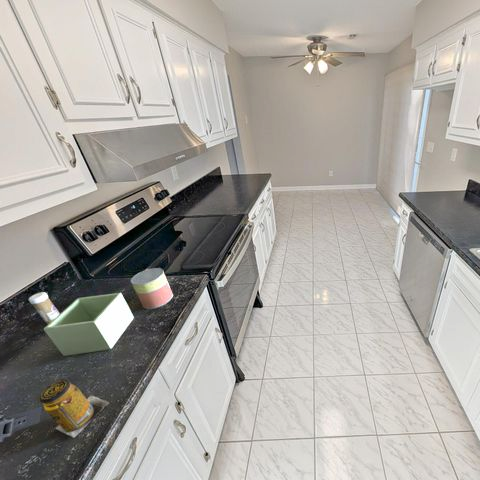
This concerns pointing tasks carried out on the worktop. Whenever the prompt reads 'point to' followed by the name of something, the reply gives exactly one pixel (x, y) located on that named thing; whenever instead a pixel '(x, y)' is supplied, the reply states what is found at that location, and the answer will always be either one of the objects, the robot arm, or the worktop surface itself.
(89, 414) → the condiment
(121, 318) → the trash bin
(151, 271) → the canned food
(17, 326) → the worktop surface
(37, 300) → the sprinkles bottle
